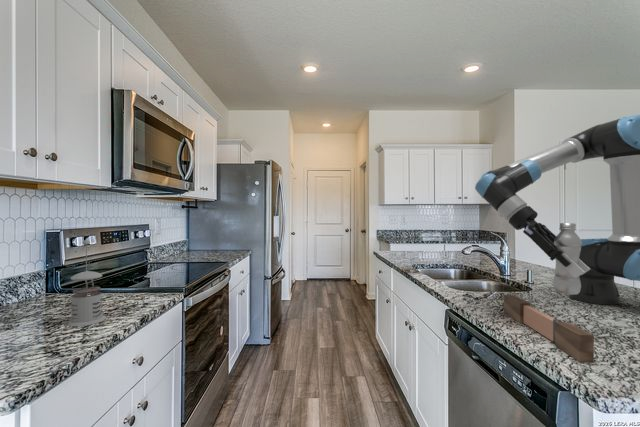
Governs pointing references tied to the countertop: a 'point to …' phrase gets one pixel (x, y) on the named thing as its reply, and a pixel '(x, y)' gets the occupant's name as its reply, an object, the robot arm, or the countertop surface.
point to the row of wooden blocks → (557, 331)
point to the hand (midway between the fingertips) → (583, 273)
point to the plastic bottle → (571, 247)
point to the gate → (540, 322)
